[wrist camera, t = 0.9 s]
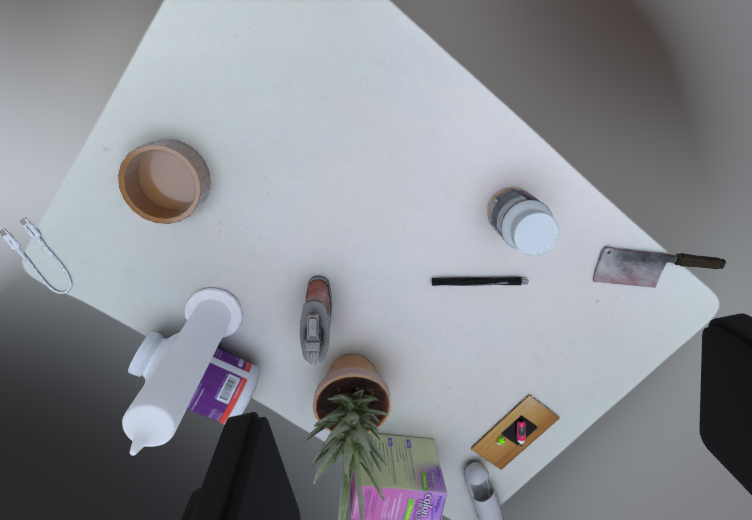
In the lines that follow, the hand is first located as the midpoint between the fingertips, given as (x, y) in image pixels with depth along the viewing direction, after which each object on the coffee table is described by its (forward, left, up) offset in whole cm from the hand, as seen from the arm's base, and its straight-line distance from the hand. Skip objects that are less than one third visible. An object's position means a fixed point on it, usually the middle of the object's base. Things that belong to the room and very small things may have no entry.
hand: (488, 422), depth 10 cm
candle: (+17, -25, -49) cm, 58 cm away
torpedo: (+58, +3, -49) cm, 76 cm away
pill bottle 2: (+12, +13, -49) cm, 52 cm away
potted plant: (+30, -10, -49) cm, 58 cm away
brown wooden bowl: (-1, -24, -49) cm, 55 cm away
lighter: (+19, -12, -49) cm, 54 cm away
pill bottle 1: (+28, -23, -45) cm, 58 cm away
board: (+46, +10, -49) cm, 68 cm away
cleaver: (+27, +30, -49) cm, 63 cm away
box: (+42, -13, -44) cm, 62 cm away
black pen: (+20, +9, -48) cm, 53 cm away
